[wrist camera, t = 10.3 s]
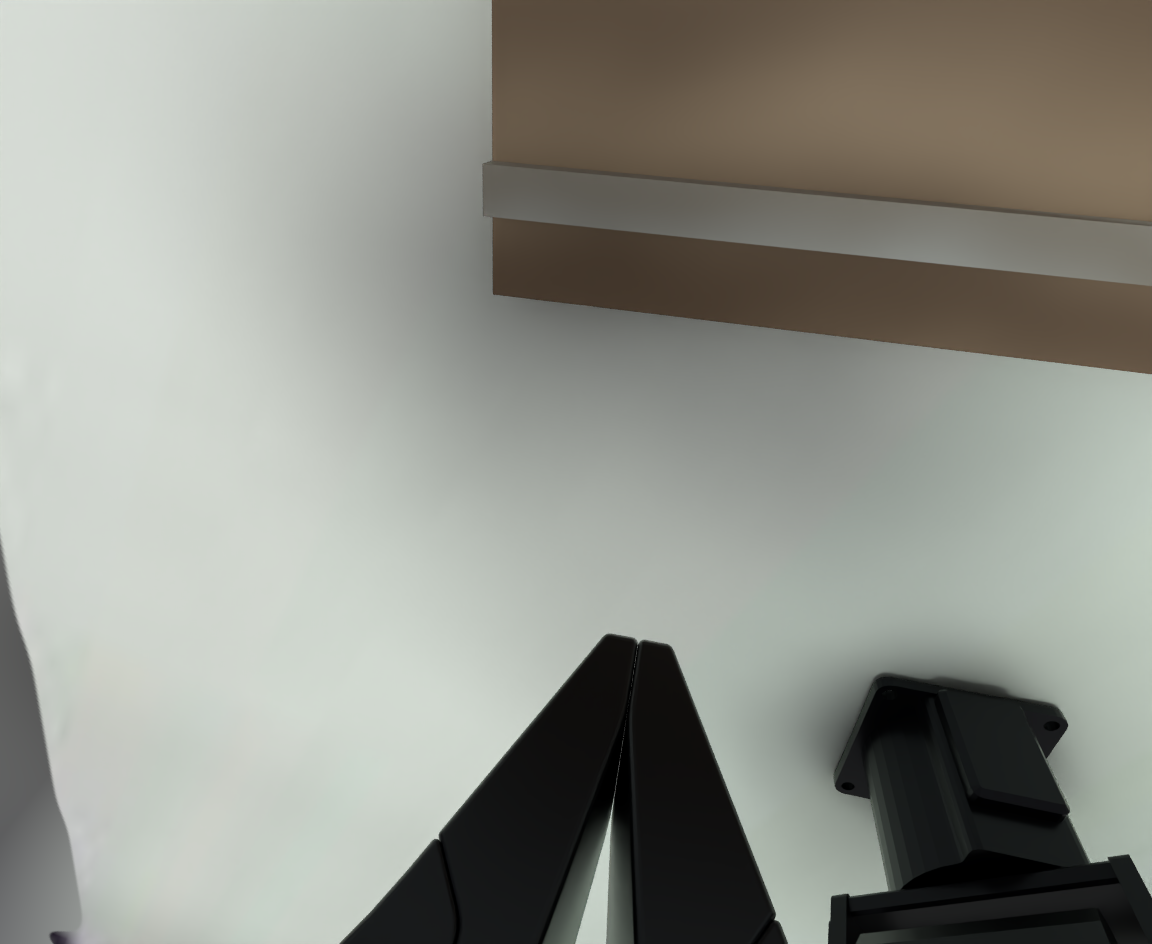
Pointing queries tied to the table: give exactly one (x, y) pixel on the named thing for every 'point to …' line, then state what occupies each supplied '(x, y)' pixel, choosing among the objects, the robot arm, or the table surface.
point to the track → (834, 167)
